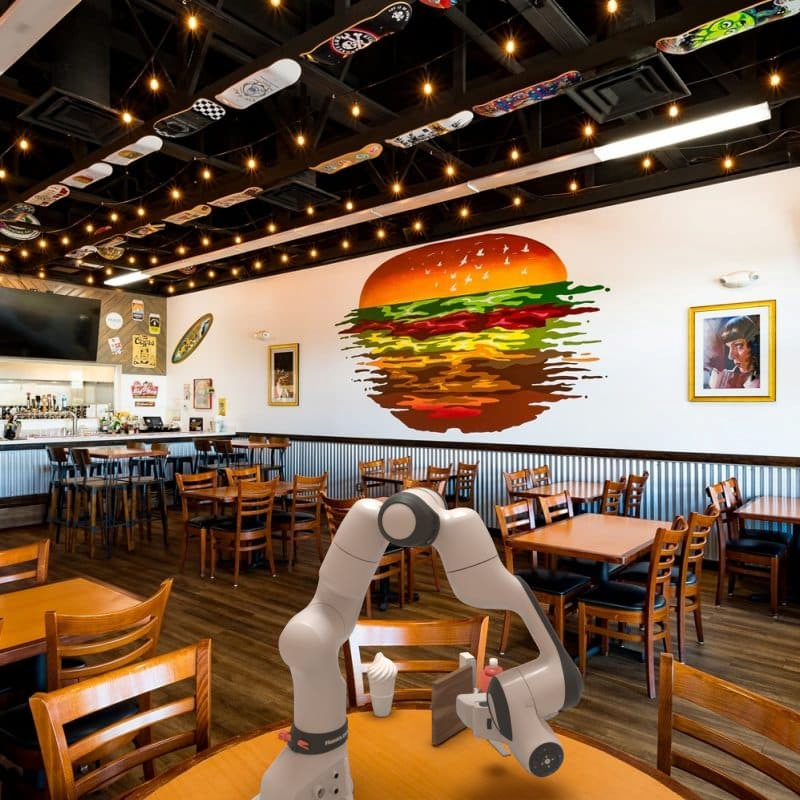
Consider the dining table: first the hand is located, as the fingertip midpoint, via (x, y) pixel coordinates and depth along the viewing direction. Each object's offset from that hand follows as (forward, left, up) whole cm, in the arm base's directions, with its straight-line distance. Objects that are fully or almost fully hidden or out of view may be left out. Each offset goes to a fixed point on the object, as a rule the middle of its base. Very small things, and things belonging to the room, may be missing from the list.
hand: (492, 690), depth 138 cm
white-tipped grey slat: (+12, +9, -17) cm, 23 cm away
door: (+6, +16, -16) cm, 24 cm away
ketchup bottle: (-1, -1, -8) cm, 8 cm away
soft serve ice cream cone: (+4, +36, -17) cm, 40 cm away
